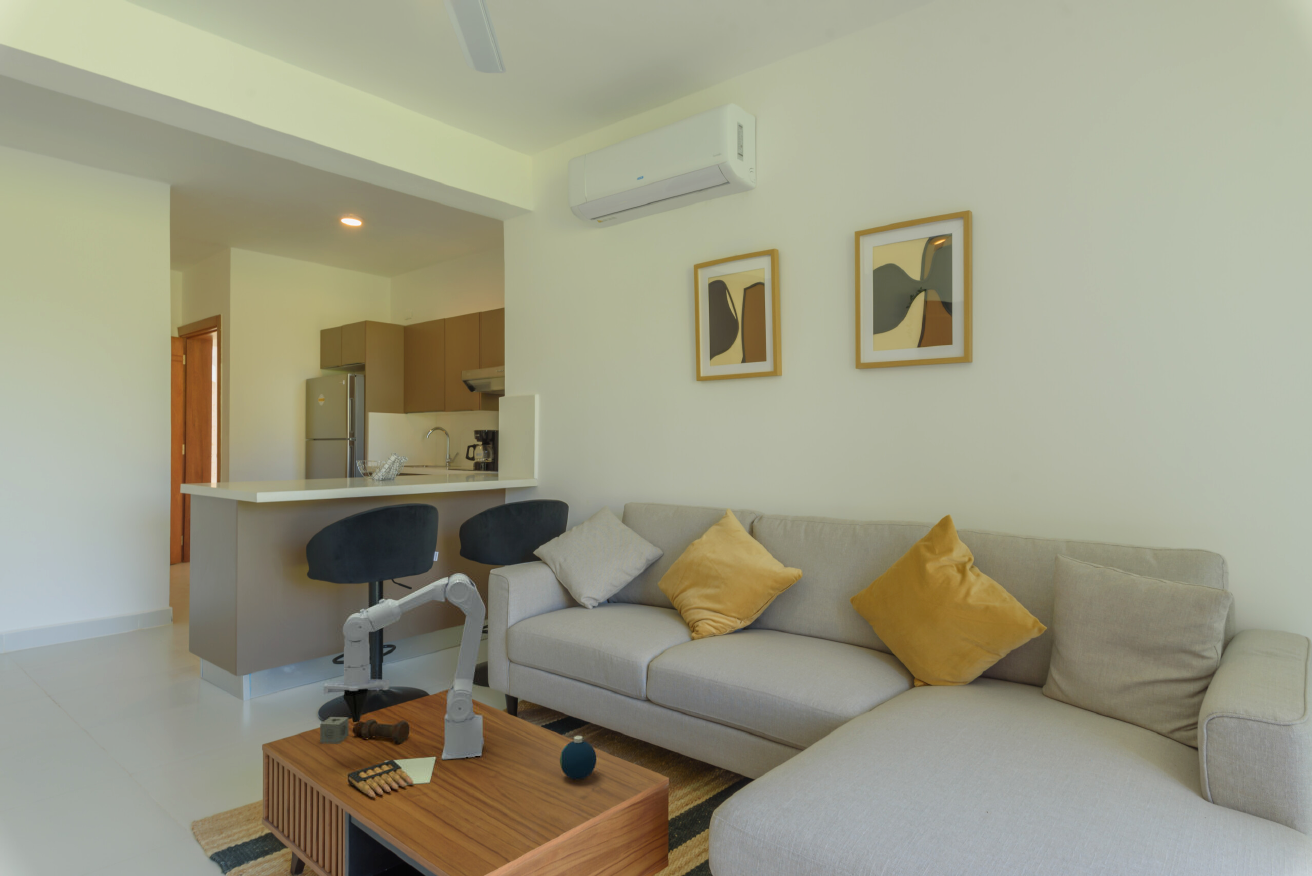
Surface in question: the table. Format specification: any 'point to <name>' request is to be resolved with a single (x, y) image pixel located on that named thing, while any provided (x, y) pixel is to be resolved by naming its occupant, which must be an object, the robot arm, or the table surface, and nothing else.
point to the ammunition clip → (379, 778)
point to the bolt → (383, 730)
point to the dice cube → (334, 730)
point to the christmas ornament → (578, 759)
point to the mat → (417, 769)
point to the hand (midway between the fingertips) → (356, 720)
